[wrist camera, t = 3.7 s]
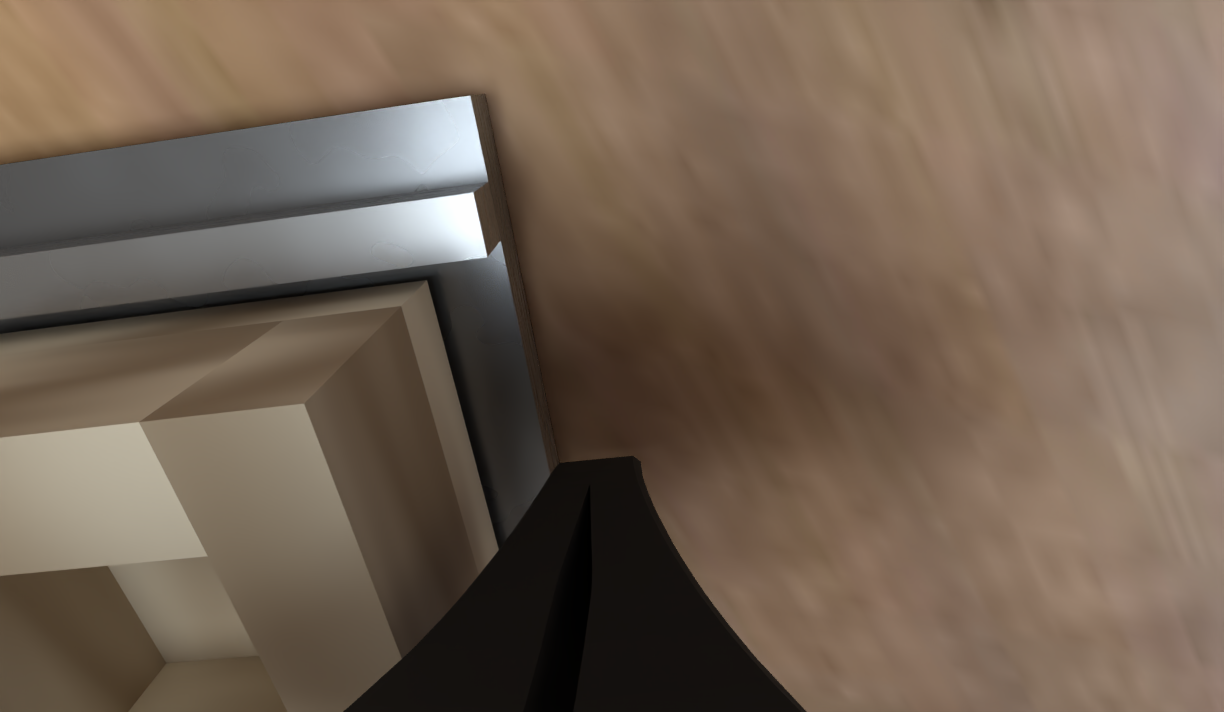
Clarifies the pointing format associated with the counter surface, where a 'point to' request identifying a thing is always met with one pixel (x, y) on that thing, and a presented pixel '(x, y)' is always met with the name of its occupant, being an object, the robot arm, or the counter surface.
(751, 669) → the robot arm
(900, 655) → the counter surface
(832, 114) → the counter surface
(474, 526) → the sliding block
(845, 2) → the counter surface
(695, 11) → the counter surface
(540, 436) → the slide base
